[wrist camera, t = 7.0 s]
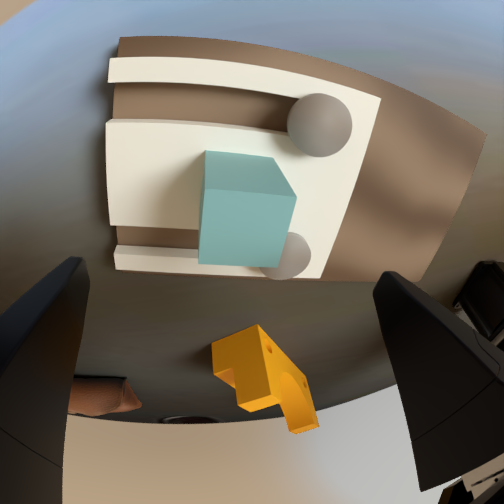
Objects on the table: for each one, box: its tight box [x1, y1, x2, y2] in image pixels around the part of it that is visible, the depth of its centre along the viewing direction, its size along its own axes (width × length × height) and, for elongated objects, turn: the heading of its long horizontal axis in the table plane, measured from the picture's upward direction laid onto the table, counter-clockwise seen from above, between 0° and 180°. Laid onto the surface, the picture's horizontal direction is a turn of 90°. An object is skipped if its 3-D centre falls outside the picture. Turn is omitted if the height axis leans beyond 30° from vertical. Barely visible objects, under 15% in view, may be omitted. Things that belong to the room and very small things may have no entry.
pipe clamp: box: [211, 324, 319, 434], centre depth 24 cm, size 12×4×6 cm, turn 28°
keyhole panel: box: [106, 57, 381, 278], centre depth 12 cm, size 11×12×5 cm
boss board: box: [113, 36, 487, 282], centre depth 15 cm, size 13×22×3 cm, turn 80°
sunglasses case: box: [68, 378, 142, 416], centre depth 26 cm, size 18×7×7 cm, turn 89°
